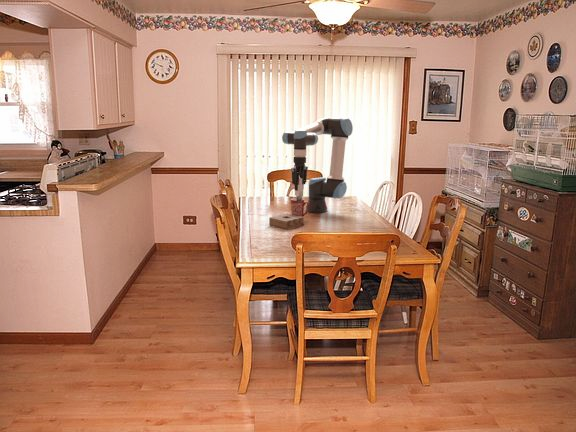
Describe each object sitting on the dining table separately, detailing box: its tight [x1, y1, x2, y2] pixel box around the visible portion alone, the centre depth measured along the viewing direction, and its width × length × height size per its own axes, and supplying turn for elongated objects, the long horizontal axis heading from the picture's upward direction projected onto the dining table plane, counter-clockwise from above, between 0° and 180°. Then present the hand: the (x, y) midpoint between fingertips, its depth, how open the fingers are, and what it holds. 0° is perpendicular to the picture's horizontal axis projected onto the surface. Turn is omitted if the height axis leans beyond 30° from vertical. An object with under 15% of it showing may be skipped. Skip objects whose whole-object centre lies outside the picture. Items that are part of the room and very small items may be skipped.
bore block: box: [268, 213, 305, 230], centre depth 291 cm, size 16×14×5 cm
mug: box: [290, 197, 310, 218], centre depth 305 cm, size 13×9×14 cm
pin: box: [295, 177, 303, 202], centre depth 286 cm, size 3×3×14 cm
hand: (298, 195), depth 287 cm, fingers closed on pin, 3 cm apart
